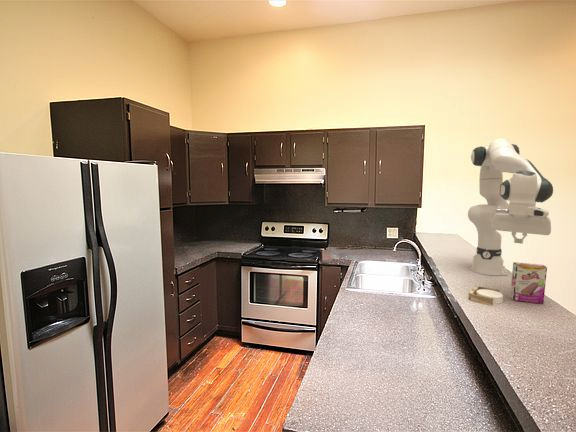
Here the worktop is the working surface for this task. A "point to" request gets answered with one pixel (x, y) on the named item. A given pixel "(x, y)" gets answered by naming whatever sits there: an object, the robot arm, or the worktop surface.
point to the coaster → (491, 295)
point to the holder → (481, 298)
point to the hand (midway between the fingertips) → (518, 243)
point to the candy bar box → (528, 282)
